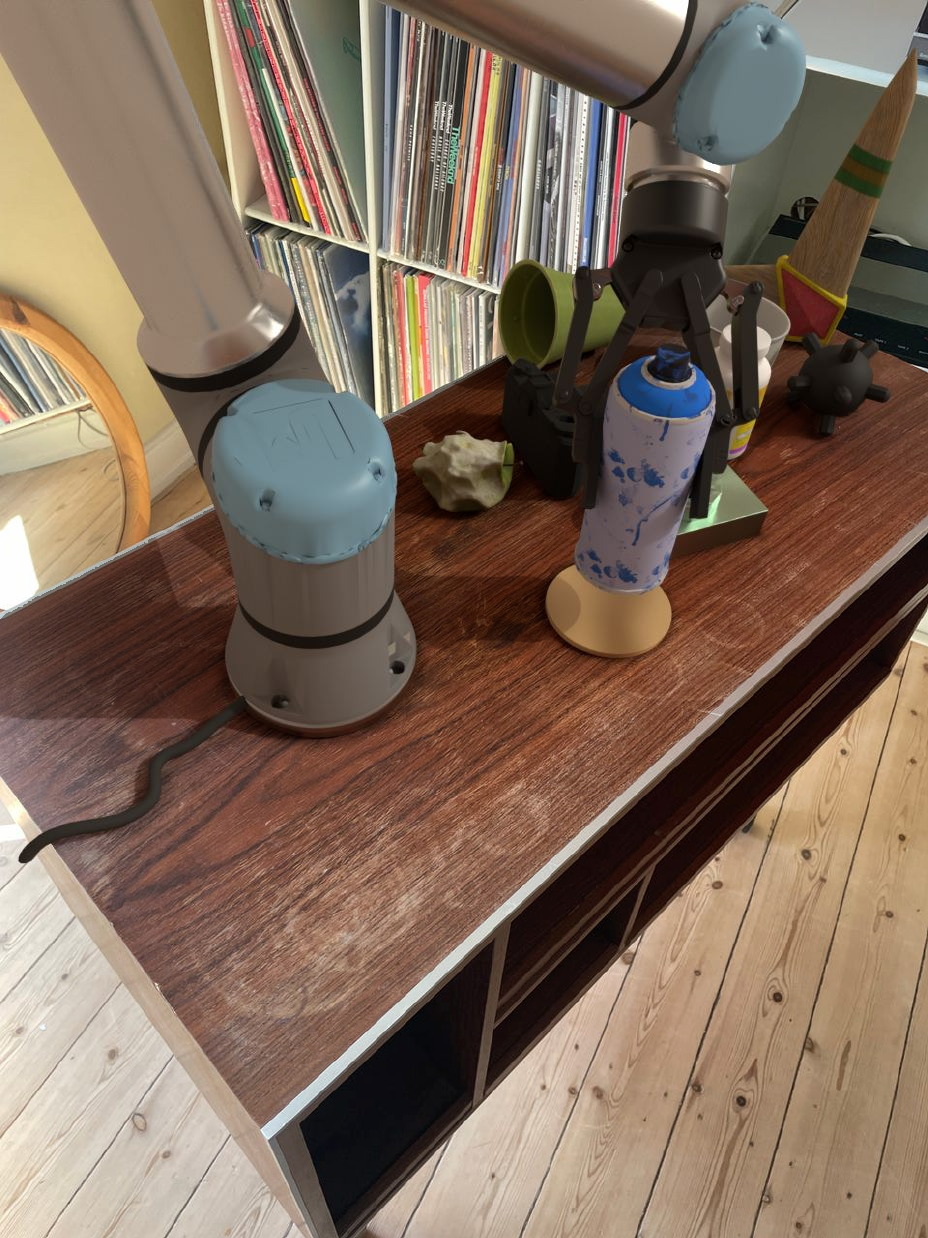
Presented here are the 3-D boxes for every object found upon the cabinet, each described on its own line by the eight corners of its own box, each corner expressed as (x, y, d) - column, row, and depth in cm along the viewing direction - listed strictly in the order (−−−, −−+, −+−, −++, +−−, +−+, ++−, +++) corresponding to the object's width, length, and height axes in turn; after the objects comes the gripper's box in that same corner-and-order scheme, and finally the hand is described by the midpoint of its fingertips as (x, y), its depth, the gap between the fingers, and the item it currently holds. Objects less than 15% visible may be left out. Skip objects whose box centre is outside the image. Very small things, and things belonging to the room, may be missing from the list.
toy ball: (806, 426, 109) (822, 468, 99) (757, 354, 105) (769, 390, 95) (894, 372, 104) (920, 411, 94) (846, 294, 100) (868, 326, 90)
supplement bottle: (741, 427, 101) (778, 320, 91) (748, 466, 96) (787, 358, 87) (679, 420, 101) (710, 313, 91) (683, 459, 97) (715, 351, 87)
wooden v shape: (906, 67, 87) (915, 43, 91) (578, 276, 117) (595, 251, 121) (1004, 263, 96) (1009, 234, 99) (675, 411, 125) (688, 384, 129)
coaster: (581, 673, 77) (582, 668, 77) (524, 581, 84) (525, 577, 83) (693, 638, 81) (695, 633, 80) (631, 552, 87) (632, 548, 87)
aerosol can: (674, 541, 80) (739, 333, 64) (658, 606, 75) (724, 397, 59) (585, 518, 81) (628, 309, 66) (563, 580, 76) (604, 370, 61)
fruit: (528, 504, 93) (542, 452, 86) (452, 546, 89) (460, 495, 82) (473, 442, 96) (482, 387, 89) (398, 480, 92) (401, 426, 85)
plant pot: (590, 382, 112) (511, 388, 107) (569, 286, 113) (488, 288, 107) (651, 343, 102) (566, 348, 97) (627, 238, 102) (541, 238, 97)
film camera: (637, 486, 93) (656, 412, 87) (549, 506, 91) (562, 431, 84) (570, 399, 102) (583, 326, 96) (489, 415, 100) (496, 341, 93)
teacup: (683, 339, 112) (699, 276, 106) (774, 359, 110) (796, 297, 104) (662, 404, 103) (679, 340, 97) (761, 427, 101) (784, 363, 95)
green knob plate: (660, 562, 86) (672, 522, 83) (613, 500, 92) (623, 460, 88) (758, 534, 90) (774, 495, 86) (708, 476, 95) (721, 437, 91)
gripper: (538, 161, 64) (507, 497, 65) (836, 187, 64) (797, 523, 65) (532, 203, 71) (504, 503, 73) (798, 226, 71) (764, 527, 73)
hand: (642, 512), depth 69 cm, fingers closed on aerosol can, 7 cm apart
